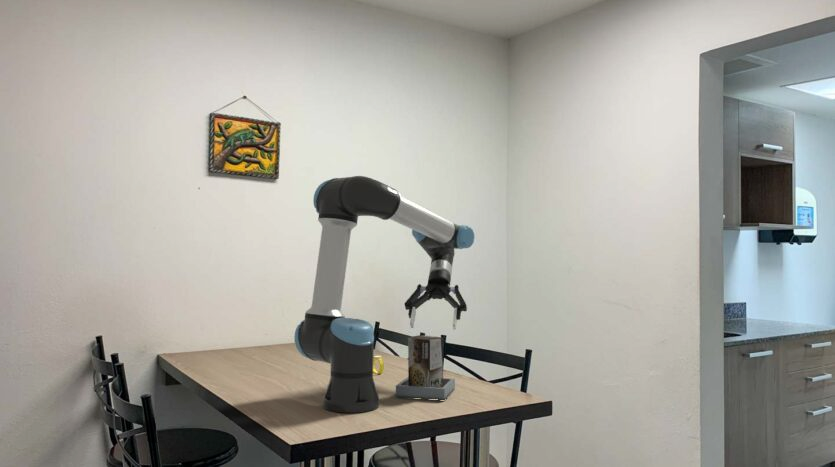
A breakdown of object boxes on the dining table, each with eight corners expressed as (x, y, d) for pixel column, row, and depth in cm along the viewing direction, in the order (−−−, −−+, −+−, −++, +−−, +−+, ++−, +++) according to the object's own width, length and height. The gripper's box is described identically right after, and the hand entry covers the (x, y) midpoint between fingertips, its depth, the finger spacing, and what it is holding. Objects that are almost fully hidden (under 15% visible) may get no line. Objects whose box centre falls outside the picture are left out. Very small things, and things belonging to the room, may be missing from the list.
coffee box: (444, 391, 183) (444, 337, 183) (429, 395, 178) (430, 339, 178) (421, 386, 189) (422, 334, 189) (407, 390, 184) (407, 336, 184)
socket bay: (444, 401, 174) (444, 389, 174) (395, 397, 178) (395, 385, 178) (454, 390, 188) (454, 378, 188) (409, 387, 192) (409, 375, 192)
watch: (385, 374, 212) (385, 357, 212) (378, 375, 210) (379, 358, 210) (375, 370, 217) (376, 354, 217) (368, 371, 215) (369, 354, 215)
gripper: (477, 284, 209) (473, 334, 193) (405, 283, 213) (395, 332, 198) (476, 269, 204) (471, 319, 188) (402, 268, 208) (392, 317, 193)
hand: (432, 326), depth 193 cm, fingers open, 13 cm apart
